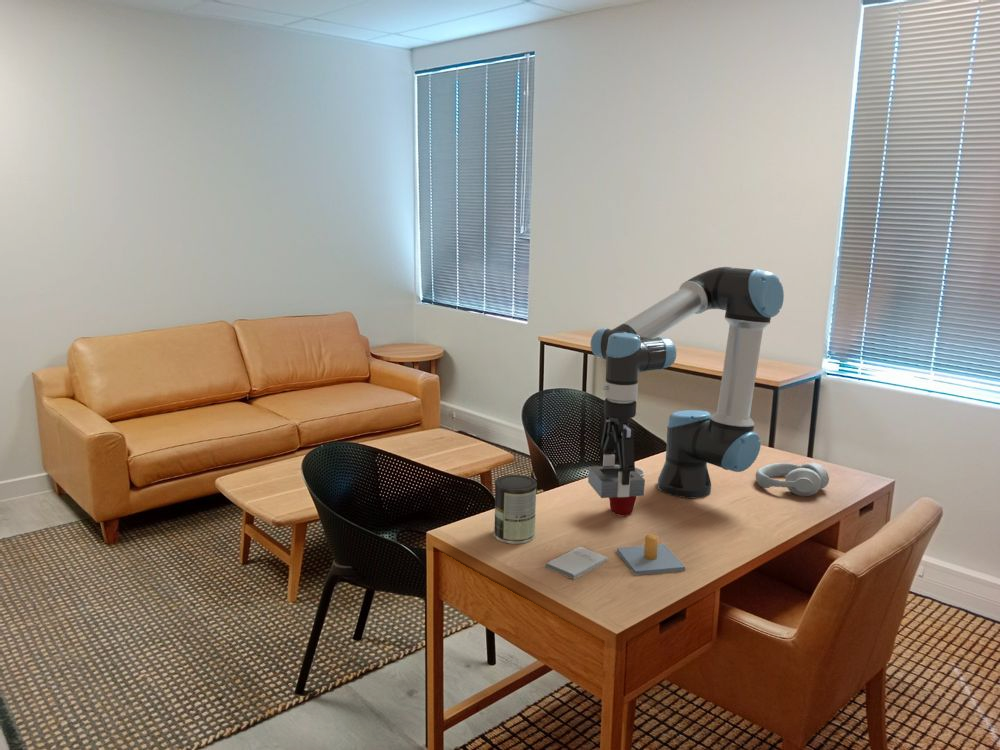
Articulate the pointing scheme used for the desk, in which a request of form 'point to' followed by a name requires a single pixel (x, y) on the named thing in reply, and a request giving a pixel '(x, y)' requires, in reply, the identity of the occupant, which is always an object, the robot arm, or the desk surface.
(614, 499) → the plastic cup
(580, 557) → the external hard drive
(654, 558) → the keeper
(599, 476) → the gray square socket block
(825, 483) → the headphones
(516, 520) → the coffee can
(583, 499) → the desk surface
